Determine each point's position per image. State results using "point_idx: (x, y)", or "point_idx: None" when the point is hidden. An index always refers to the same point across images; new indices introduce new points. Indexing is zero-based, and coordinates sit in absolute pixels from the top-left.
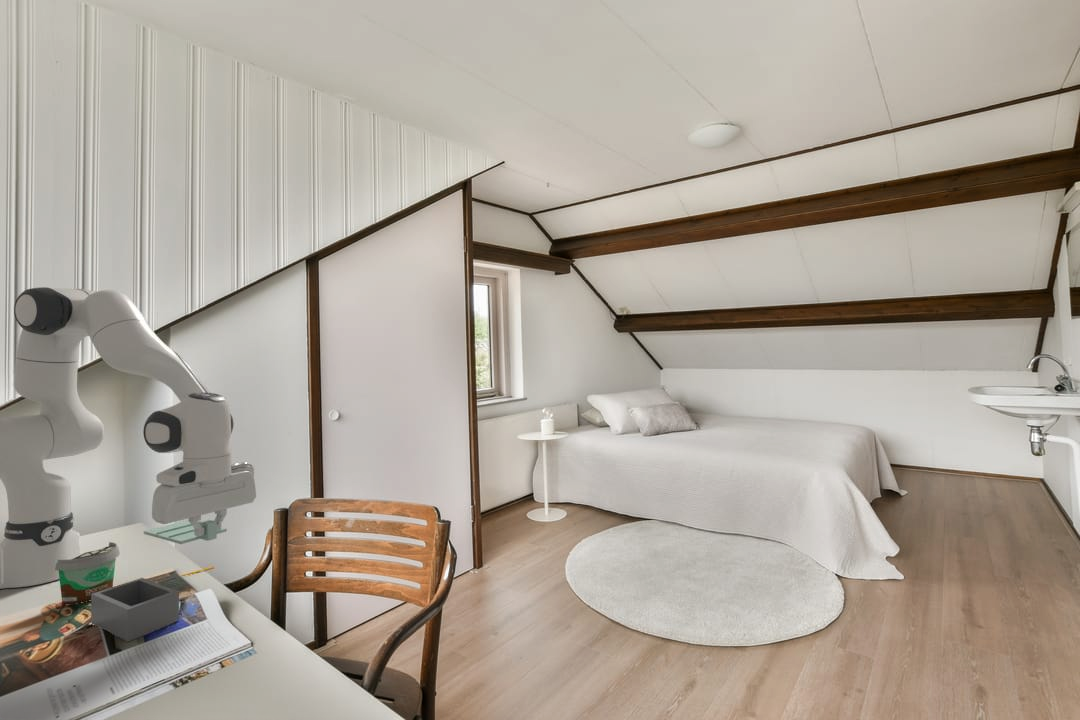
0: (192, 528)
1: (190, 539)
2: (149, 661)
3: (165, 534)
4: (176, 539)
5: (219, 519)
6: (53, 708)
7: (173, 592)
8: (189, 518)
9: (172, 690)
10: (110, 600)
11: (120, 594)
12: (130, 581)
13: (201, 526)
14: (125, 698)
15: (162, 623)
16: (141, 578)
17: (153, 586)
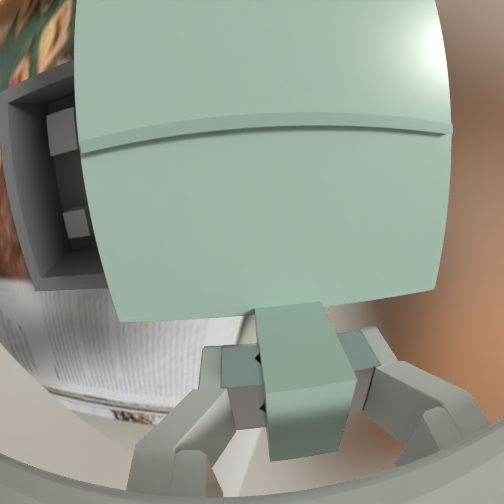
0: (330, 38)
1: (182, 315)
2: (93, 352)
3: (107, 32)
4: (106, 254)
5: (387, 422)
6: (12, 353)
7: None
8: (137, 477)
9: (112, 420)
10: (10, 190)
11: (61, 87)
12: None
13: (229, 440)
14: (70, 396)
15: None
16: None
17: None
